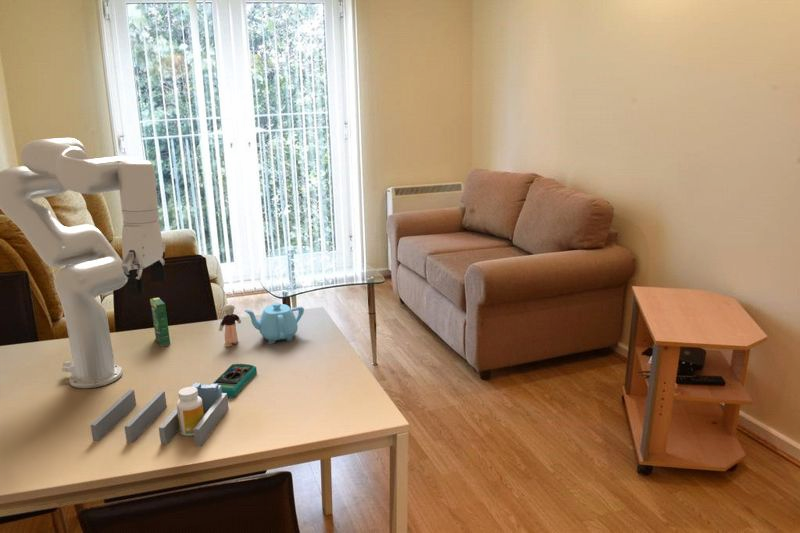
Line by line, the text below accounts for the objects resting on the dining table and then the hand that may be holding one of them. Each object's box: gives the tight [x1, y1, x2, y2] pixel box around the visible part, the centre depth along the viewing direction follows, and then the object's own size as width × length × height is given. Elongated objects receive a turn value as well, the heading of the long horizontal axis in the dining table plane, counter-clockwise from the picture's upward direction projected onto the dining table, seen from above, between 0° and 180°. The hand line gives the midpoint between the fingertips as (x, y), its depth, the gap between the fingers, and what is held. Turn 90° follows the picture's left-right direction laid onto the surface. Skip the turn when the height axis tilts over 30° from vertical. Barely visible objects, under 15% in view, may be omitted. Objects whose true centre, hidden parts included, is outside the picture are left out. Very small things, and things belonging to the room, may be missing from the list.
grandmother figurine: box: [218, 303, 242, 348], centre depth 180 cm, size 8×4×13 cm, turn 154°
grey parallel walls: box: [89, 382, 229, 447], centre depth 136 cm, size 24×16×7 cm, turn 84°
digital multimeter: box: [211, 363, 258, 399], centre depth 156 cm, size 7×15×3 cm, turn 170°
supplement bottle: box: [176, 386, 205, 437], centre depth 133 cm, size 5×5×10 cm
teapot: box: [243, 302, 305, 344], centre depth 183 cm, size 13×14×11 cm
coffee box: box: [149, 297, 171, 347], centre depth 182 cm, size 8×3×13 cm, turn 34°
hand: (148, 287), depth 141 cm, fingers open, 9 cm apart
